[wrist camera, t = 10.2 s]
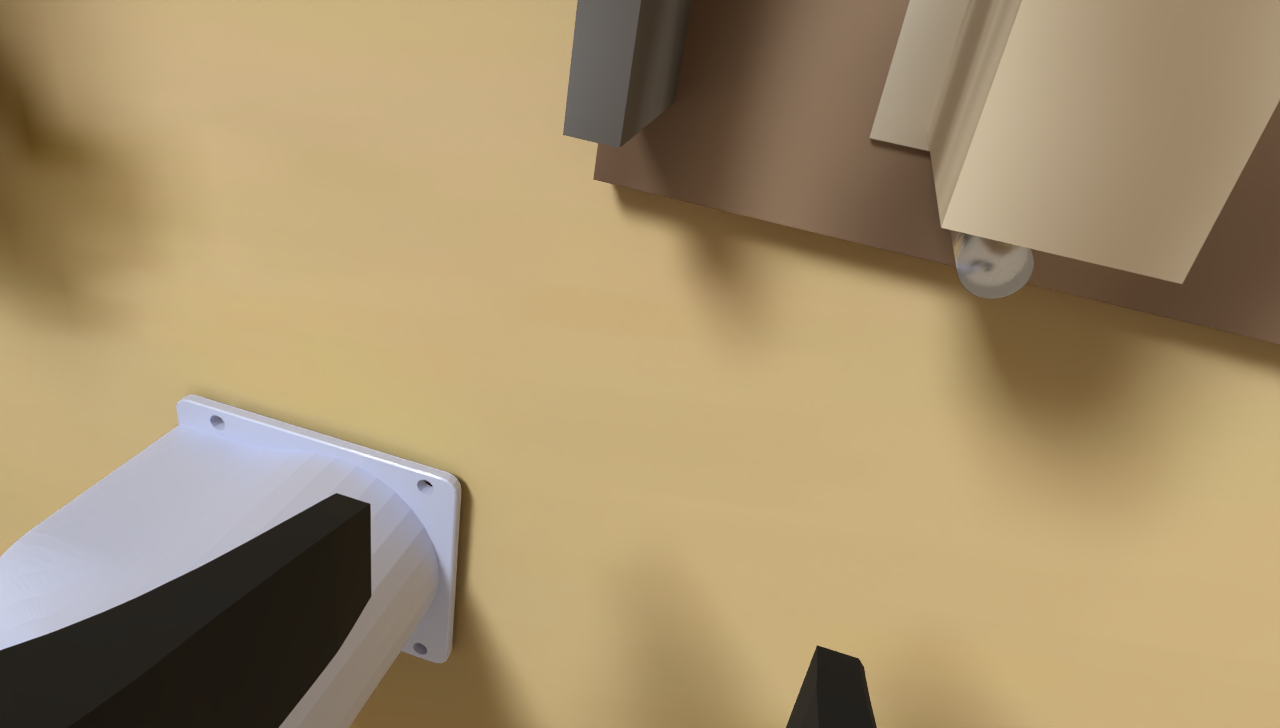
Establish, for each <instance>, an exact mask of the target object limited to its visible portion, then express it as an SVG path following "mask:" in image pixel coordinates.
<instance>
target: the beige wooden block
mask: <svg viewBox="0 0 1280 728" xmlns="http://www.w3.org/2000/svg"><path fill="white" fill-rule="evenodd" d="M1279 100H1280V0H969V2H968V5H967V8H966V11H965V14H964V17H963V20H962V23H961V26H960V29H959V32H958V36H957V39H956V42H955V45H954V48H953V51H952V54H951V57H950V60H949V63H948V66H947V69H946V72H945V75H944V78H943V81H942V84H941V88H940V91H939V94H938V97H937V100H936V103H935V106H934V109H933V112H932V115H931V118H930V121H929V124H928V127H927V134H928V141H929V148H930V155H931V162H932V169H933V175H934V182H935V189H936V196H937V203H938V210H939V217H940V224H941V228H945V229H949V230H953V231H958V232H962V233H966V234H970V235H975V236H979V237H983V238H987V239H992V240H996V241H1000V242H1005V243H1009V244H1013V245H1017V246H1022V247H1026V248H1030V249H1034V250H1039V251H1043V252H1047V253H1052V254H1056V255H1060V256H1064V257H1069V258H1073V259H1077V260H1081V261H1086V262H1090V263H1094V264H1098V265H1103V266H1107V267H1111V268H1116V269H1120V270H1124V271H1128V272H1133V273H1137V274H1141V275H1145V276H1150V277H1154V278H1158V279H1162V280H1167V281H1171V282H1175V283H1180V284H1183V282H1184V280H1185V278H1186V276H1187V274H1188V272H1189V270H1190V268H1191V267H1192V265H1193V263H1194V261H1195V259H1196V257H1197V255H1198V253H1199V251H1200V250H1201V248H1202V246H1203V244H1204V242H1205V240H1206V238H1207V236H1208V234H1209V233H1210V231H1211V229H1212V227H1213V225H1214V223H1215V221H1216V219H1217V217H1218V216H1219V214H1220V212H1221V210H1222V208H1223V206H1224V204H1225V202H1226V200H1227V199H1228V197H1229V195H1230V193H1231V191H1232V189H1233V187H1234V185H1235V184H1236V182H1237V180H1238V178H1239V176H1240V174H1241V172H1242V170H1243V168H1244V167H1245V165H1246V163H1247V161H1248V159H1249V157H1250V155H1251V153H1252V151H1253V150H1254V148H1255V146H1256V144H1257V142H1258V140H1259V138H1260V136H1261V134H1262V133H1263V131H1264V129H1265V127H1266V125H1267V123H1268V121H1269V119H1270V117H1271V116H1272V114H1273V112H1274V110H1275V108H1276V106H1277V104H1278V102H1279Z"/></svg>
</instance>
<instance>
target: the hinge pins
mask: <svg viewBox="0 0 1280 728" xmlns="http://www.w3.org/2000/svg"><path fill="white" fill-rule="evenodd" d="M950 233H951V238H952V244H953V250H954V256H955V262H956V267H957V273H958V277H959V280H960V282H961V283H962V285H963V286H964V287H965V288H966V289H967V290H968V291H969V292H971V293H972V294H974V295H976V296H979V297H982V298H987V299H997V298H1003V297H1006V296H1009V295H1011V294H1013V293H1015V292H1017V291H1018V290H1020V289H1021V288H1022V287H1023V286H1024V285H1025V284H1026V283H1027V281H1028V280H1029V278H1030V276H1031V274H1032V271H1033V266H1034V259H1033V254H1032V251H1031V249H1030V248H1026V247H1022V246H1017V245H1013V244H1009V243H1005V242H1000V241H996V240H992V239H987V238H983V237H979V236H975V235H970V234H966V233H962V232H958V231H953V230H950Z"/></svg>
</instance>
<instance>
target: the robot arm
mask: <svg viewBox="0 0 1280 728" xmlns="http://www.w3.org/2000/svg"><path fill="white" fill-rule="evenodd" d="M177 416H178V422H179V425H178V426H177V427H175V428H174V429H172V430H171V431H170V432H168V433H167V434H165V435H164V436H163V437H161V438H160V439H158V440H157V441H155V442H154V443H153V444H151V445H150V446H148V447H147V448H146V449H144V450H143V451H141V452H140V453H138V454H137V455H136V456H134V457H133V458H131V459H130V460H129V461H127V462H126V463H124V464H123V465H121V466H120V467H119V468H117V469H116V470H114V471H113V472H112V473H110V474H109V475H107V476H106V477H104V478H103V479H102V480H100V481H99V482H97V483H96V484H95V485H93V486H92V487H90V488H89V489H87V490H86V491H85V492H83V493H82V494H80V495H79V496H78V497H76V498H75V499H73V500H72V501H70V502H69V503H68V504H66V505H65V506H63V507H62V508H61V509H59V510H58V511H56V512H55V513H53V514H52V515H51V516H49V517H48V518H46V519H45V520H44V521H42V522H41V523H39V524H38V525H36V526H35V527H34V528H32V529H31V530H29V531H28V532H27V533H26V534H25V535H23V536H22V537H21V538H20V539H18V540H17V541H16V542H15V543H14V544H13V545H12V546H11V547H10V548H9V549H8V550H7V551H6V552H5V553H4V554H3V555H2V556H1V557H0V728H349V727H350V726H351V724H352V723H353V721H354V720H355V718H356V717H357V715H358V714H359V712H360V711H361V709H362V708H363V706H364V705H365V703H366V702H367V701H368V699H369V698H370V696H371V695H372V693H373V692H374V690H375V689H376V687H377V686H378V684H379V683H380V681H381V680H382V678H383V677H384V675H385V674H386V672H387V671H388V669H389V668H390V667H391V665H392V664H393V662H394V661H395V659H396V658H397V656H398V655H399V653H400V652H404V653H407V654H410V655H413V656H416V657H419V658H422V659H425V660H428V661H430V662H433V663H444V662H445V661H447V659H448V657H449V656H450V654H451V651H452V641H453V624H454V607H455V591H456V574H457V557H458V541H459V524H460V508H461V491H462V489H461V484H460V482H459V481H458V479H457V478H456V477H455V476H454V475H452V474H450V473H448V472H446V471H442V470H439V469H436V468H432V467H429V466H426V465H423V464H419V463H416V462H413V461H410V460H406V459H403V458H400V457H397V456H393V455H390V454H387V453H383V452H380V451H377V450H374V449H370V448H367V447H364V446H361V445H357V444H354V443H351V442H347V441H344V440H341V439H338V438H334V437H331V436H328V435H325V434H321V433H318V432H315V431H312V430H308V429H305V428H302V427H298V426H295V425H292V424H289V423H285V422H282V421H279V420H276V419H272V418H269V417H266V416H263V415H259V414H256V413H253V412H249V411H246V410H243V409H240V408H236V407H233V406H230V405H227V404H223V403H220V402H217V401H214V400H210V399H207V398H204V397H200V396H197V395H191V394H190V395H187V396H185V397H184V398H182V399H181V400H179V402H178V403H177ZM424 480H426V481H428V482H430V483H431V485H432V486H433V487H432V486H430V485H428V484H427V483H426V482H425V481H424ZM786 728H877V727H876V723H875V719H874V714H873V710H872V706H871V701H870V697H869V692H868V687H867V682H866V677H865V671H864V666H863V665H862V663H861V661H860V660H859V659H858V658H855V657H852V656H849V655H846V654H842V653H839V652H836V651H833V650H830V649H827V648H824V647H820V646H817V647H816V650H815V652H814V655H813V658H812V660H811V663H810V666H809V668H808V671H807V674H806V676H805V679H804V681H803V684H802V687H801V689H800V692H799V695H798V697H797V700H796V703H795V705H794V708H793V711H792V713H791V716H790V718H789V721H788V724H787V726H786Z"/></svg>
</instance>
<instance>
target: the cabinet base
mask: <svg viewBox="0 0 1280 728" xmlns="http://www.w3.org/2000/svg"><path fill="white" fill-rule="evenodd" d="M968 2H969V0H578V3H577V12H576V21H575V30H574V40H573V49H572V58H571V67H570V77H569V86H568V95H567V104H566V113H565V123H564V132H563V135H566V136H570V137H575V138H579V139H583V140H588V141H592V142H596V143H598V149H597V157H596V164H595V172H594V180H598V181H602V182H606V183H610V184H615V185H619V186H623V187H627V188H631V189H635V190H639V191H644V192H648V193H652V194H656V195H660V196H664V197H669V198H673V199H677V200H681V201H685V202H689V203H693V204H698V205H702V206H706V207H710V208H714V209H718V210H722V211H727V212H731V213H735V214H739V215H743V216H747V217H752V218H756V219H760V220H764V221H768V222H772V223H776V224H781V225H785V226H789V227H793V228H797V229H801V230H805V231H810V232H814V233H818V234H822V235H826V236H830V237H835V238H839V239H843V240H847V241H851V242H855V243H859V244H864V245H868V246H872V247H876V248H880V249H884V250H889V251H893V252H897V253H901V254H905V255H909V256H913V257H918V258H922V259H926V260H930V261H934V262H938V263H942V264H947V265H951V266H955V267H956V262H955V256H954V250H953V244H952V238H951V233H950V230H949V229H945V228H941V224H940V217H939V210H938V203H937V196H936V189H935V182H934V175H933V169H932V162H931V155H930V148H929V141H928V134H927V127H928V124H929V121H930V118H931V115H932V112H933V109H934V106H935V103H936V100H937V97H938V94H939V91H940V88H941V84H942V81H943V78H944V75H945V72H946V69H947V66H948V63H949V60H950V57H951V54H952V51H953V48H954V45H955V42H956V39H957V36H958V32H959V29H960V26H961V23H962V20H963V17H964V14H965V11H966V8H967V5H968ZM1031 251H1032V254H1033V259H1034V266H1033V271H1032V274H1031V276H1030V278H1029V280H1028V281H1027V283H1026V284H1030V285H1034V286H1038V287H1042V288H1046V289H1050V290H1055V291H1059V292H1063V293H1067V294H1071V295H1075V296H1079V297H1084V298H1088V299H1092V300H1096V301H1100V302H1104V303H1109V304H1113V305H1117V306H1121V307H1125V308H1129V309H1133V310H1138V311H1142V312H1146V313H1150V314H1154V315H1158V316H1163V317H1167V318H1171V319H1175V320H1179V321H1183V322H1187V323H1192V324H1196V325H1200V326H1204V327H1208V328H1212V329H1216V330H1221V331H1225V332H1229V333H1233V334H1237V335H1241V336H1246V337H1250V338H1254V339H1258V340H1262V341H1266V342H1270V343H1275V344H1279V345H1280V100H1279V102H1278V104H1277V106H1276V108H1275V110H1274V112H1273V114H1272V116H1271V117H1270V119H1269V121H1268V123H1267V125H1266V127H1265V129H1264V131H1263V133H1262V134H1261V136H1260V138H1259V140H1258V142H1257V144H1256V146H1255V148H1254V150H1253V151H1252V153H1251V155H1250V157H1249V159H1248V161H1247V163H1246V165H1245V167H1244V168H1243V170H1242V172H1241V174H1240V176H1239V178H1238V180H1237V182H1236V184H1235V185H1234V187H1233V189H1232V191H1231V193H1230V195H1229V197H1228V199H1227V200H1226V202H1225V204H1224V206H1223V208H1222V210H1221V212H1220V214H1219V216H1218V217H1217V219H1216V221H1215V223H1214V225H1213V227H1212V229H1211V231H1210V233H1209V234H1208V236H1207V238H1206V240H1205V242H1204V244H1203V246H1202V248H1201V250H1200V251H1199V253H1198V255H1197V257H1196V259H1195V261H1194V263H1193V265H1192V267H1191V268H1190V270H1189V272H1188V274H1187V276H1186V278H1185V280H1184V282H1183V284H1180V283H1175V282H1171V281H1167V280H1162V279H1158V278H1154V277H1150V276H1145V275H1141V274H1137V273H1133V272H1128V271H1124V270H1120V269H1116V268H1111V267H1107V266H1103V265H1098V264H1094V263H1090V262H1086V261H1081V260H1077V259H1073V258H1069V257H1064V256H1060V255H1056V254H1052V253H1047V252H1043V251H1039V250H1034V249H1031Z"/></svg>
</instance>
